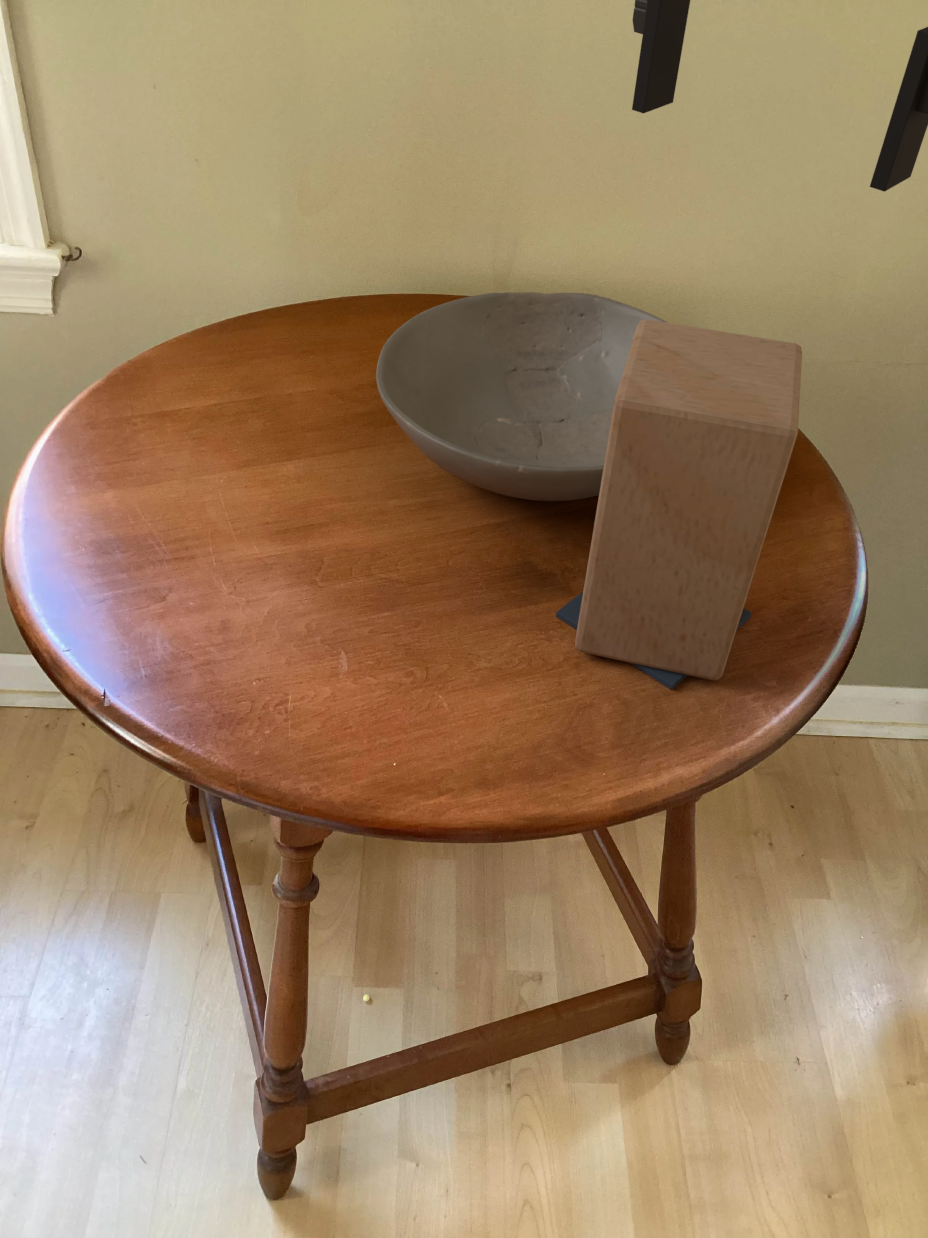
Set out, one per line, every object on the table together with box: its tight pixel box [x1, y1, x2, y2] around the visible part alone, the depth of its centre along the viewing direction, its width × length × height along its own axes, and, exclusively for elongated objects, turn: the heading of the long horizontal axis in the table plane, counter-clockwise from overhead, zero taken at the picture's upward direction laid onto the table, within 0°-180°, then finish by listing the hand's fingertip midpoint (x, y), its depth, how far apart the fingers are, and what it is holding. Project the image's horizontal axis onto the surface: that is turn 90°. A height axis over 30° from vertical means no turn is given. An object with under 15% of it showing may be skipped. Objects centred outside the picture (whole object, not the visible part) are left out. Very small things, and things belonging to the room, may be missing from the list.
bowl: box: [375, 291, 669, 502], centre depth 86 cm, size 27×28×8 cm
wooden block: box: [574, 319, 803, 681], centre depth 67 cm, size 10×10×20 cm
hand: (763, 142), depth 52 cm, fingers open, 13 cm apart
